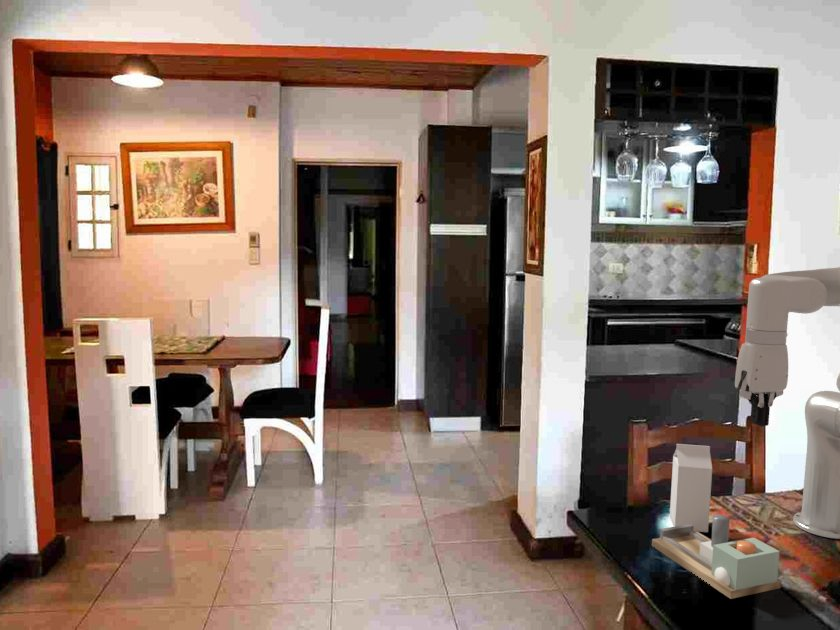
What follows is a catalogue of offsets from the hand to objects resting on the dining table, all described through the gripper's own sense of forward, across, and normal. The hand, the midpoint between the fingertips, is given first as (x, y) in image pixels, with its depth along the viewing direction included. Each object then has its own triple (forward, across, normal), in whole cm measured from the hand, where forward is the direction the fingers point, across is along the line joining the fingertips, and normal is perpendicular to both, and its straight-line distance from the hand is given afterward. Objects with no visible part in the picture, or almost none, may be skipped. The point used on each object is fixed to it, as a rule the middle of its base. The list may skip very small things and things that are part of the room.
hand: (759, 424), depth 139 cm
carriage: (+25, +14, +6) cm, 29 cm away
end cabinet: (+27, +14, +12) cm, 33 cm away
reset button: (+22, +14, +12) cm, 29 cm away
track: (+27, +14, +4) cm, 31 cm away
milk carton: (+27, +5, -13) cm, 31 cm away
